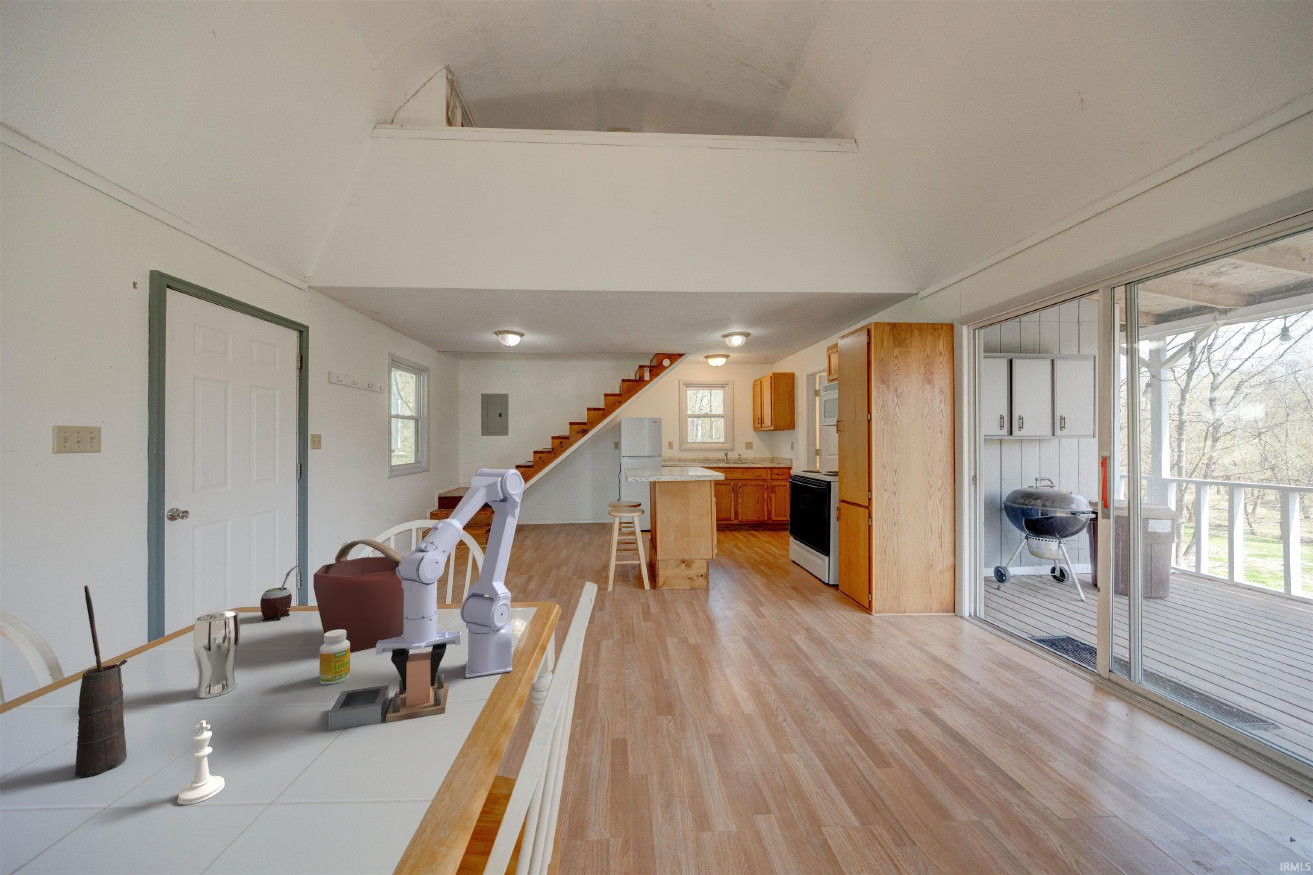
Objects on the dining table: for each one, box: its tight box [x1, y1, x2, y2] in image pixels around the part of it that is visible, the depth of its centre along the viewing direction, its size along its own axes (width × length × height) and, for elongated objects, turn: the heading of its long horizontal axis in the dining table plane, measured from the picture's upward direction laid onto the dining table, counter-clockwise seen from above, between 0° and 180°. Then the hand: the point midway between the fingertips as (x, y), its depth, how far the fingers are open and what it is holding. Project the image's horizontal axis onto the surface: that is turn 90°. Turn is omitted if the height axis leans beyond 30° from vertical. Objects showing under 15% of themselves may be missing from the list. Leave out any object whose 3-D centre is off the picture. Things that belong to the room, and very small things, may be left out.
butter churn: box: [74, 584, 128, 778], centre depth 77 cm, size 9×10×28 cm
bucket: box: [313, 539, 404, 654], centre depth 125 cm, size 24×22×25 cm
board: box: [385, 673, 450, 723], centre depth 93 cm, size 10×10×4 cm
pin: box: [406, 650, 432, 706], centre depth 93 cm, size 4×4×8 cm
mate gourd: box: [259, 564, 300, 622], centre depth 140 cm, size 8×8×15 cm
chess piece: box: [177, 719, 226, 806], centre depth 70 cm, size 5×5×10 cm
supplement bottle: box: [318, 629, 351, 685], centre depth 104 cm, size 5×5×10 cm
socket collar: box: [328, 684, 391, 732], centre depth 90 cm, size 8×8×3 cm
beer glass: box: [192, 609, 241, 699], centre depth 99 cm, size 7×7×15 cm
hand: (419, 686), depth 93 cm, fingers closed on pin, 4 cm apart
